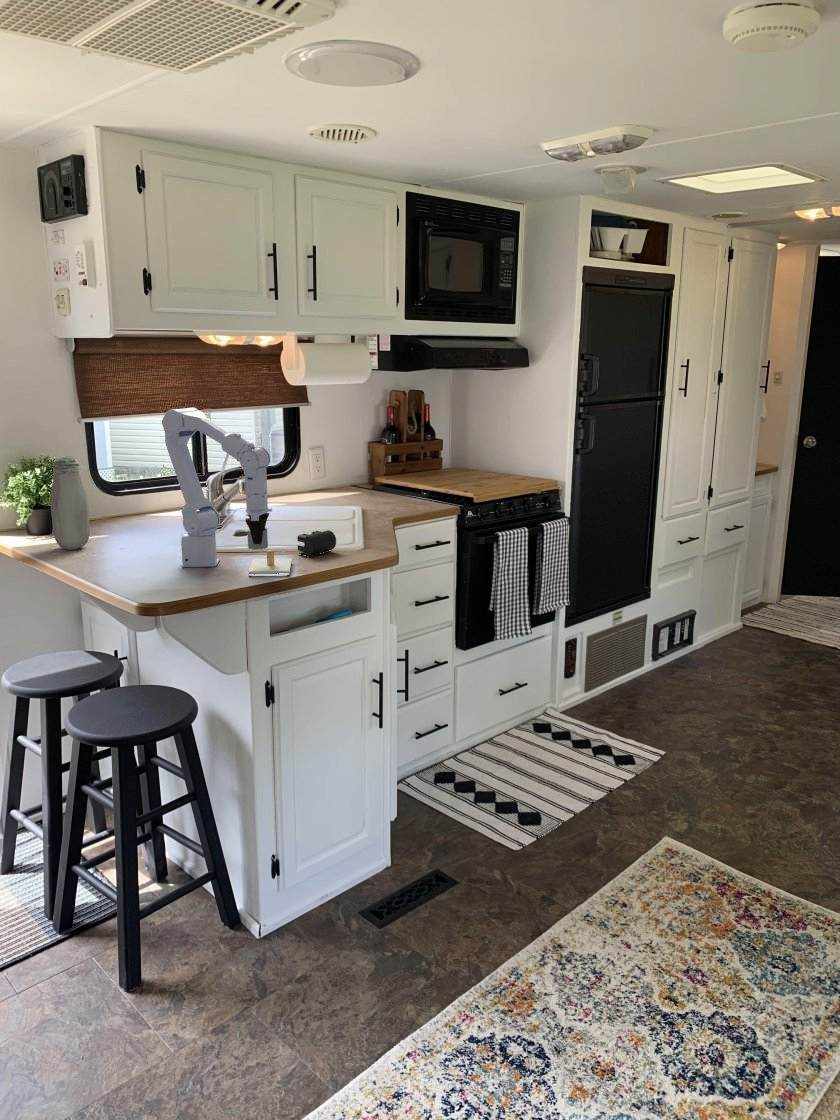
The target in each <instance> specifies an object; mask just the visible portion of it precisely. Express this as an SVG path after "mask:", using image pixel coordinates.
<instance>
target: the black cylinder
mask: <svg viewBox="0 0 840 1120" xmlns="http://www.w3.org/2000/svg"><path fill="white" fill-rule="evenodd" d="M297 542H299V543H303V544H304V545H300V544H298V545H297V551H298V552H299V553H298V555H299V554H301V555H306V556H311V557H313V556H312V555H315V556H317V555H316V554H319V555H321V554H320V553H323V552H326V551H329V550H331V551H332V550H333V549H335V547H336V545H337V537H336V535H335V533H334V532H333V531H331V530H329V529H328V530H324V531H320V530H315V531H314V530H313V531H311V534H309V533H302V534H301V533H300V534H298V535H297ZM323 554H324V553H323Z"/></svg>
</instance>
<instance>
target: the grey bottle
mask: <svg viewBox="0 0 840 1120" xmlns="http://www.w3.org/2000/svg"><path fill="white" fill-rule="evenodd" d="M80 465H81V464H80V463H79V461H78V460H77V459H76V458H75V457H72V456H64V457H59V458H57V459H55V461H54V463H53V465H52V471H53V475H52V485H51V489H50V495H49V496H50V497H49V502H50V504H49V505H50V511H51V512H50V515H51V519H52V520H51V521H52V522H51V523H52V529H53V530H52V532H53V536H54V539H55V542H56V544H57V545H58V546H59V547H60V548H62V549H64V550H69V551H74V550H78V549H81V548H84V546H86V545H87V543H88V542H89V538H90V536H91V526H90V516H89V515H90V514H89V498H88V494H87V489H86V486H85V484H84V481H83V478H82V474H81V466H80Z"/></svg>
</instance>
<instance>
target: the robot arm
mask: <svg viewBox="0 0 840 1120" xmlns="http://www.w3.org/2000/svg"><path fill="white" fill-rule="evenodd" d="M161 424H162V428H163V430H164V443H165V446H166V449H167V452H168V456H169V457H170V461H171V464H172V467H173V470H174V473H175V475H176V479H177V482H178V484H179V488H180V490H181V491H180V492H181V493H182V497H183V499H184V502H185V504H184V505H183V507H182V510H181V515H182V526H183V529H184V531H185V532H187V533H183V534H181V540H180V541H181V542H180V543H181V560H182V561H181V562H182V565H181V566H182V568H195V567H197V568H200V567H201V568H202V567H206V568H208V567H217V566H218V564H219V562H220V560H221V559H220V557H219V558H217V557H218V556H217V541H216V540H217V539H216V532H217V528H218V527H220V523H221V516H220V514H219V512H218V511H217V510H216V508H215V507H214V505H213V502H212V501H210V499H208V498H206V497H205V494H204V492H203V487H202V486H201V482H200V479H199V477H198V474H197V470H196V467H195V464H194V461H193V459H192V456H191V453H190V449H189V446H188V443H189V441H190V439H191V438H192V436H194V435H195V434H196V432H199V433H202V434H203V435H205V436H207V437H209V438H210V439H212V440H214V441H215V442H217V443H219V444H220V446H221V450H222V451H223V452H225V453H226V454H228V455H229V456H230V457H232V458H233V459H235V460H237V461H238V462H239V464H240V466H241V468H242V470H243V475H244V479H245V482H244V483H245V501H246V502H245V507H246V508H245V512H246V513H247V514H248V517H247V518H245V523H246V525H247V527H248V529H250V532H251V536H252V541H253V544H261V543H262V538H263V530H264V528H266V525H267V521H268V518H269V516H270V512H273V508H272V507H268V506H269V503H268V501H269V500H268V481H267V479H268V477H267V467H268V466H269V464H270V463H271V455H270V453H269V452H268V450H267V449H266V448H265V447H263V446H255V444H254V443H253V442H249V441H247V440H246V439H244V438H243V437H242V434H240V433H239V432H230V433H228V432H227V431H225V430H224V429H222V427H221V426H219V425H218V424H216V423H215V422H214V421H212V420H211V419H209V417H207V416H206V415H205V413H204V412H202V411H200V410H199V409H198V408H196V407H187V408H179V409H173V408H172V409H168V410H166V412H165V414H164V415H163V418H162V420H161Z"/></svg>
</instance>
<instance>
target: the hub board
mask: <svg viewBox="0 0 840 1120" xmlns="http://www.w3.org/2000/svg"><path fill="white" fill-rule="evenodd" d="M291 564H292V565H293V559H292V558H291V557H290V558H288V557H287V558H284V557H283V558H275V551H274V550H272V549H268V550H266V558H253V559H252V560H251V564H250V566H249V569H248V572H247V573H248V575H249V574H254V575H255V574H277V573H278V574H279V573H290V574H291V571H290V568H291V569H292V566H291Z"/></svg>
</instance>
